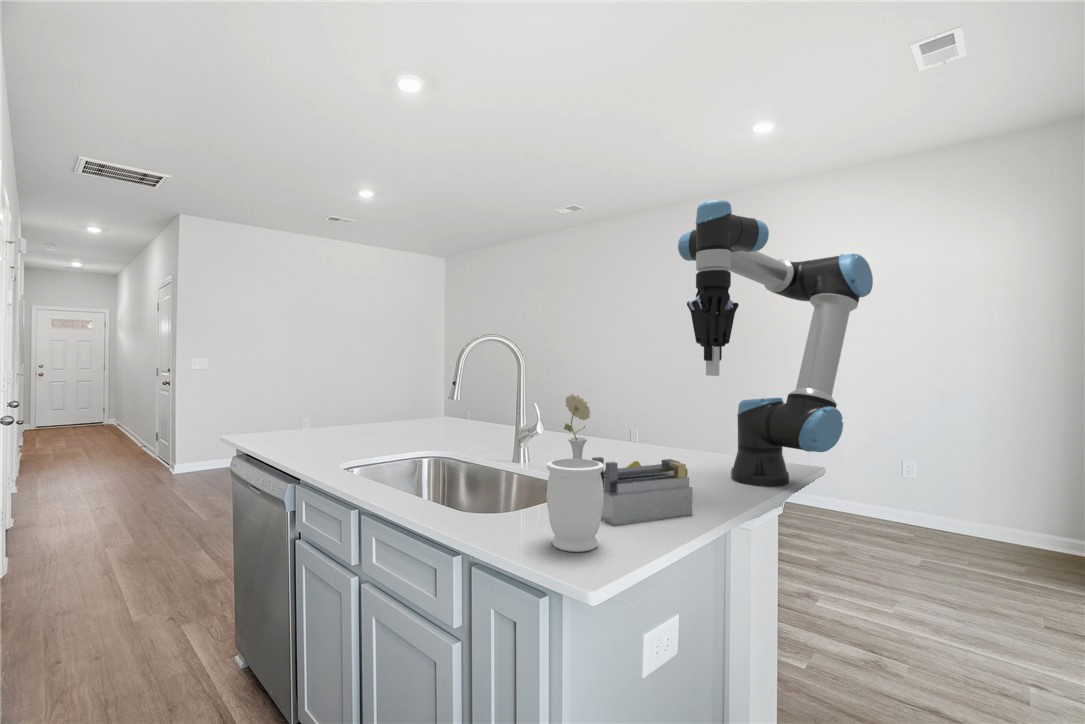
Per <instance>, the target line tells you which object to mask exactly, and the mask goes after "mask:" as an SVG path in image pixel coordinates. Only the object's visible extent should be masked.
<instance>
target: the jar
mask: <svg viewBox="0 0 1085 724" xmlns="http://www.w3.org/2000/svg"><path fill="white" fill-rule="evenodd" d="M603 466H604V467H603ZM604 468H605V465H604V464H603V463H601V462H598V461H593V460H592V459H587V458H582V459H573V458H560V459H559V458H558V459H554V460H550V461H548V462H547V463H546V469H547V471H549V475H548V479H547V485H546V504H547V505H546V506H547V510H548V511H547V512H548V518H549V524H550V528H551V530H552V532H553V534H554V536H553V538H552V540H551V543H552V546H553V547H555V548H556V549H558V550H561V551H565V552H571V553H582V552H583V553H584V552H589V551H592V550H594V549H596V548H597V547H598V545H599V544H598V543H599V542H598V540H597V538H596V535H597V533H598V532H599V530H600V526H601V521H602V519H601V515H602V510H603V502H604V490H603V482H602V477H601V472H602V471H603V469H604ZM604 470H605V469H604Z"/></svg>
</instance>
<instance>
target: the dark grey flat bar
mask: <svg viewBox="0 0 1085 724" xmlns="http://www.w3.org/2000/svg"><path fill="white" fill-rule="evenodd" d="M670 462H679V463H681V462H680V461H678V460H674V459H673V458H672V459H671V458H668V459H665V458H664V459H661V463H660V464H649V465H641V466H638V467H628V468H625V467H619V468H618V476H617V477H624V476H633V475H643V474H652V473H662V472H671V471H674V467H671V466H670ZM605 473H606V469H604V474H605Z"/></svg>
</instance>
